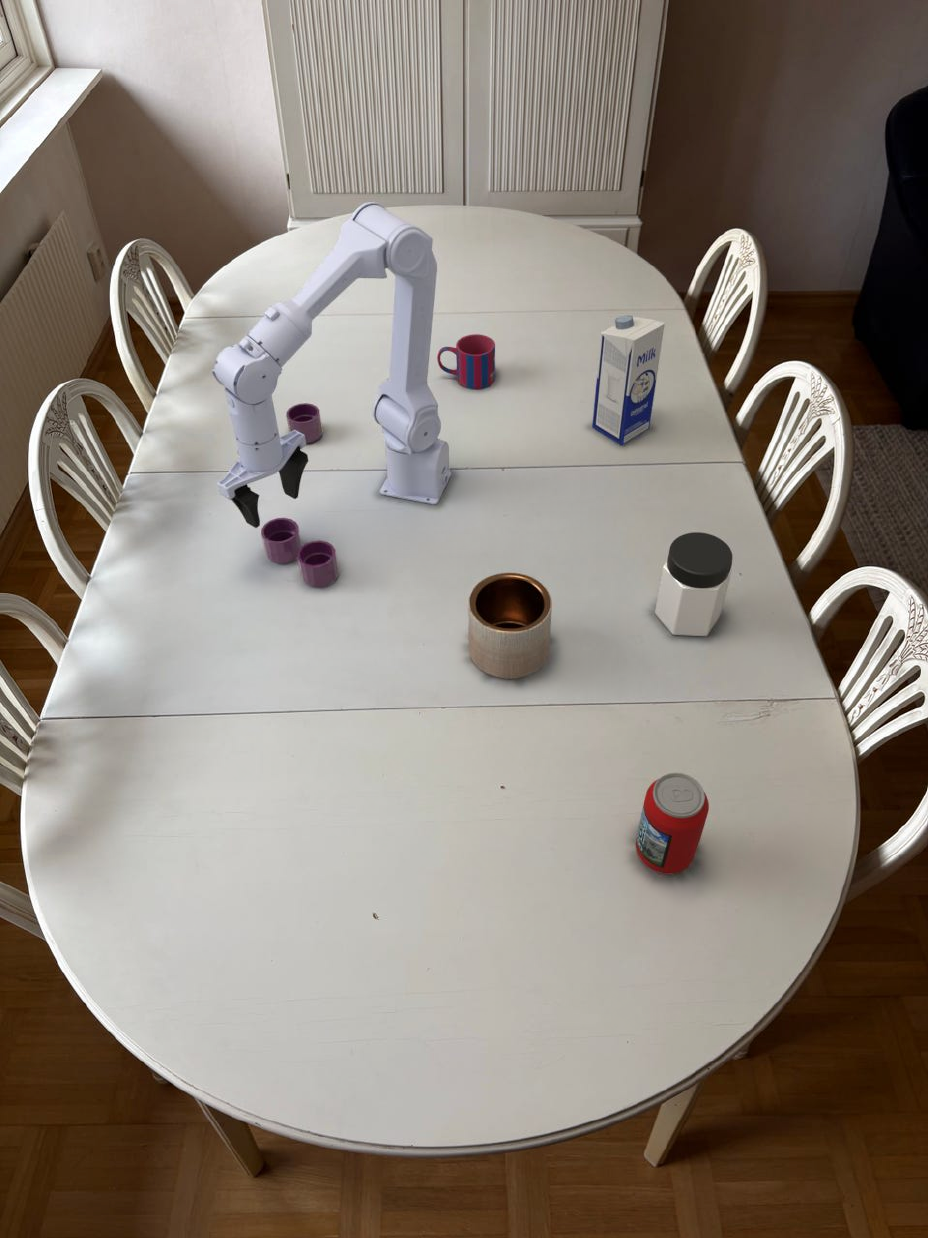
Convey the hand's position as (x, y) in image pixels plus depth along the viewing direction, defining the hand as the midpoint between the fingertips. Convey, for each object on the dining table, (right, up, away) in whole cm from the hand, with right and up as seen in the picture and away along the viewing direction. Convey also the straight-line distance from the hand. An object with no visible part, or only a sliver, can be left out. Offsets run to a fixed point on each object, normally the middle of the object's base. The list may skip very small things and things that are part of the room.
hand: (272, 509), depth 142 cm
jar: (+58, -15, -3) cm, 60 cm away
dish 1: (+1, -6, +6) cm, 9 cm away
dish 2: (+1, +15, +25) cm, 29 cm away
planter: (+33, -20, -7) cm, 39 cm away
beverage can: (+50, -42, -28) cm, 71 cm away
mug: (+28, +27, +36) cm, 53 cm away
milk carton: (+53, +16, +25) cm, 61 cm away
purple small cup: (+6, -9, +3) cm, 12 cm away
